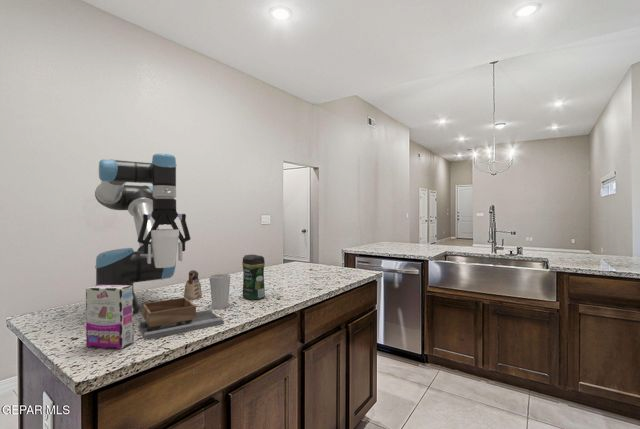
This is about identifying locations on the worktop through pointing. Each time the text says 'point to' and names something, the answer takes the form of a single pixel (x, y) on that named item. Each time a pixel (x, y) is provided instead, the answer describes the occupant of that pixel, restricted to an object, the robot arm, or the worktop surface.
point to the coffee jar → (253, 277)
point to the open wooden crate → (168, 312)
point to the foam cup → (164, 247)
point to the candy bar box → (109, 316)
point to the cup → (220, 290)
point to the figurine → (193, 286)
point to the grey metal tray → (182, 325)
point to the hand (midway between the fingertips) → (165, 261)
